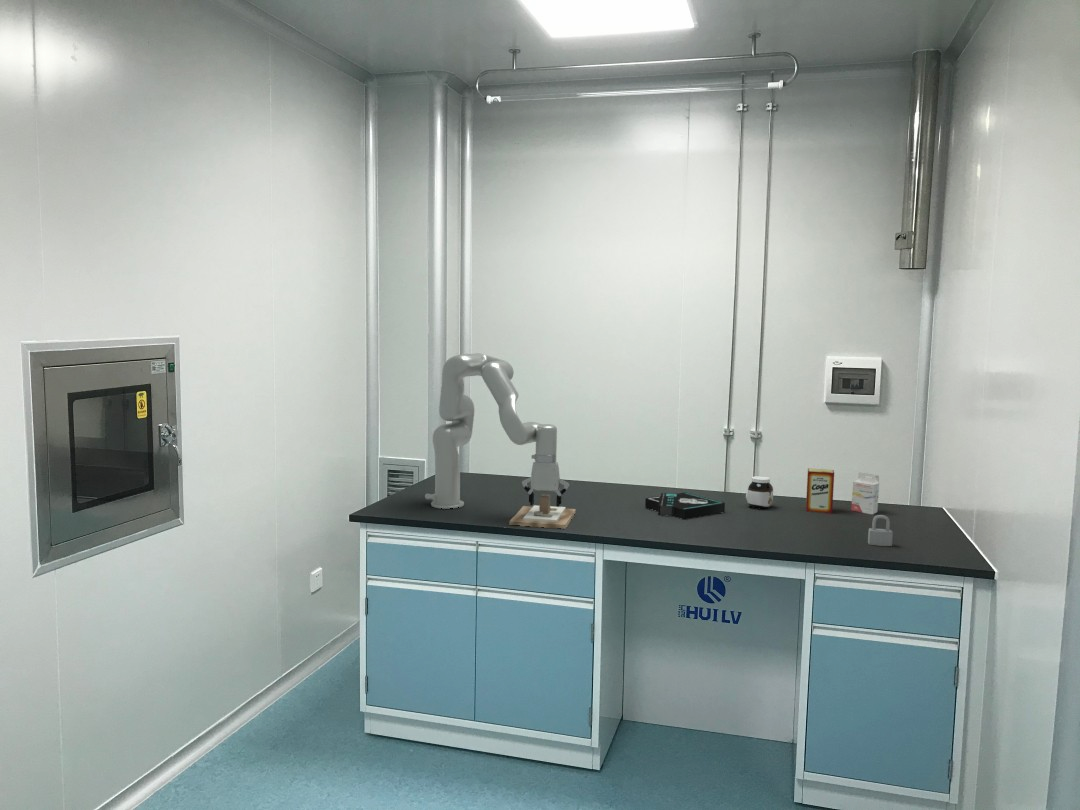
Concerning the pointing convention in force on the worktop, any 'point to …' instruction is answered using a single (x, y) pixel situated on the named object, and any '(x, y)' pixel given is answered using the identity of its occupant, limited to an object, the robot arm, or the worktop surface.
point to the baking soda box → (820, 490)
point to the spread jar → (760, 493)
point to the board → (524, 510)
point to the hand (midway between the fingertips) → (545, 505)
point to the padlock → (880, 533)
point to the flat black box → (684, 505)
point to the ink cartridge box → (865, 493)
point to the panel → (545, 517)
